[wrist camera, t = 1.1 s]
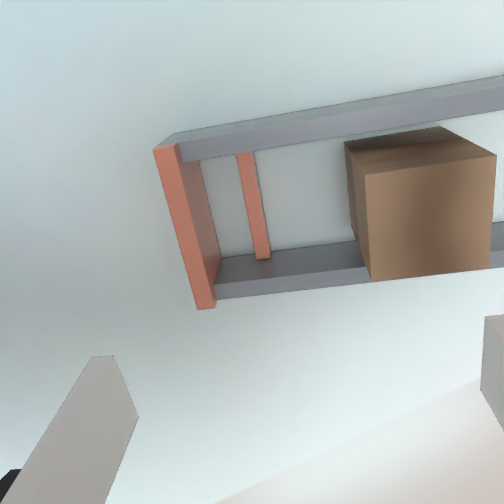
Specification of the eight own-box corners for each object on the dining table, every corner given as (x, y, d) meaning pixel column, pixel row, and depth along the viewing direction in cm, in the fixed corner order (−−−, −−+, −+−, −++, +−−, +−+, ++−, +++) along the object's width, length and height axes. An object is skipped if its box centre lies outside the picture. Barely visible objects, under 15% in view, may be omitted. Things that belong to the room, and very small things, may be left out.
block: (351, 225, 30) (371, 281, 23) (344, 141, 27) (364, 175, 20) (438, 213, 29) (488, 268, 22) (440, 126, 26) (496, 155, 19)
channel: (209, 273, 32) (197, 310, 28) (174, 133, 28) (152, 149, 23) (544, 232, 29) (591, 265, 24) (566, 63, 24) (629, 67, 20)
